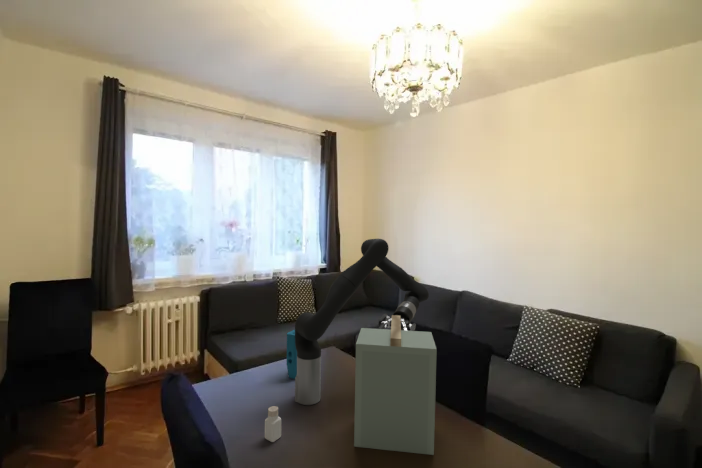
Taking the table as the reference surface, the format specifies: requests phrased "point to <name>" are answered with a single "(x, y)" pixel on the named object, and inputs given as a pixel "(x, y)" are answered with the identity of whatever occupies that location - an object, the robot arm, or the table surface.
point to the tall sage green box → (395, 391)
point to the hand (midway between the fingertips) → (390, 335)
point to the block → (291, 355)
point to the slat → (395, 331)
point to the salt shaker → (273, 425)
